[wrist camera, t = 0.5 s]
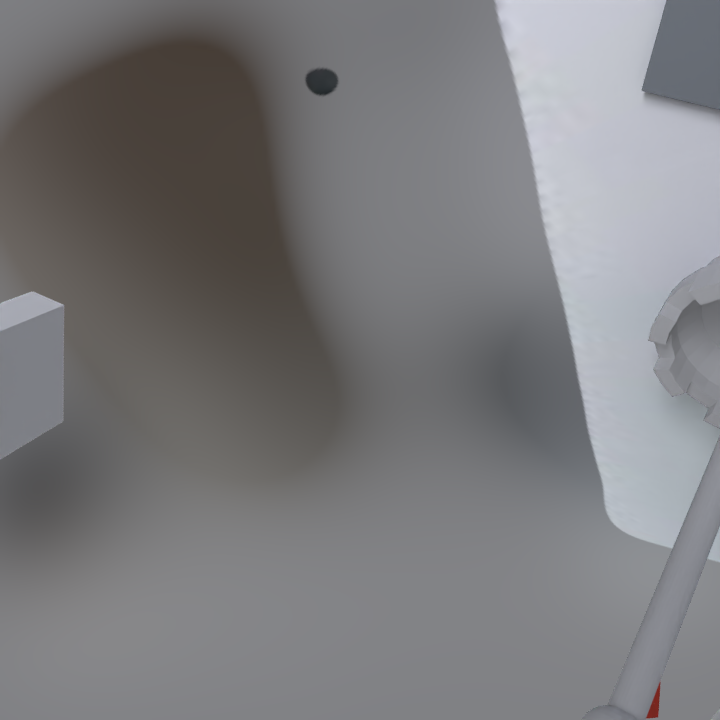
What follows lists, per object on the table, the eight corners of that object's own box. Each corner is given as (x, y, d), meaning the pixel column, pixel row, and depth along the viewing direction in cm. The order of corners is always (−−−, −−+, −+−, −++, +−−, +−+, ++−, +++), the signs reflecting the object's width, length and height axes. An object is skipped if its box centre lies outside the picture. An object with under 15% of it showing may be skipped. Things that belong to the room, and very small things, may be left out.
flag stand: (665, 224, 42) (418, 631, 27) (933, 224, 33) (783, 820, 19) (685, 372, 49) (499, 755, 35) (909, 403, 41) (787, 932, 26)
